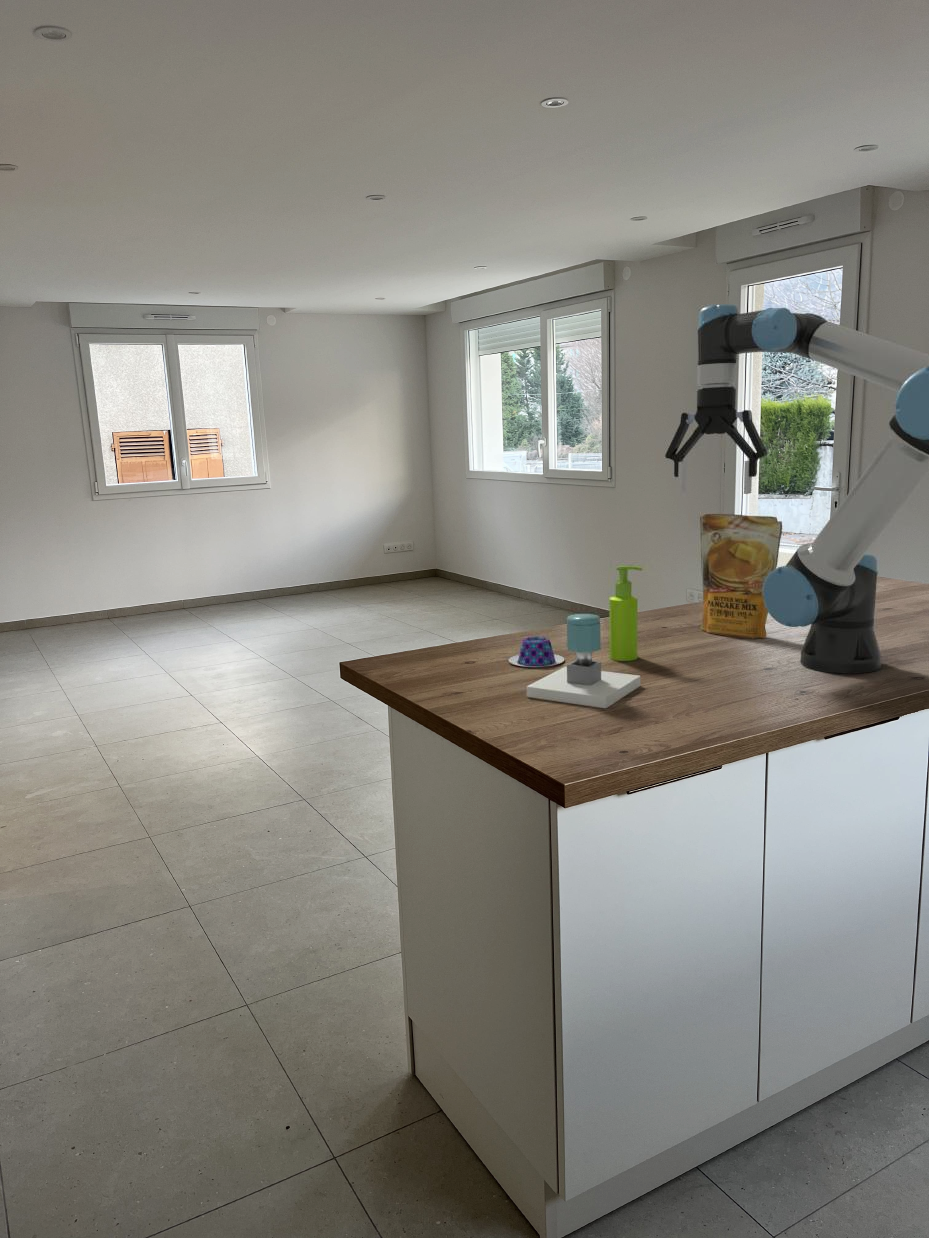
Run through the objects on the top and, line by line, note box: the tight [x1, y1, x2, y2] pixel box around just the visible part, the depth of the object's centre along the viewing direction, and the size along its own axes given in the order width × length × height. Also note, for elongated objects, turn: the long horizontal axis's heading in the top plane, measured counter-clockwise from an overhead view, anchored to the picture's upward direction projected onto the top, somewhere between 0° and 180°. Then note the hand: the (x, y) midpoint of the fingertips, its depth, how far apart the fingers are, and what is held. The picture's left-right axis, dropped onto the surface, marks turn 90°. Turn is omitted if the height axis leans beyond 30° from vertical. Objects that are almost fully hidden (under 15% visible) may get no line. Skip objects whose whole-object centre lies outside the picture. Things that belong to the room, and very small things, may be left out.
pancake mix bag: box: [699, 513, 783, 640], centre depth 210 cm, size 7×19×28 cm, turn 48°
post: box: [575, 652, 593, 667], centre depth 169 cm, size 3×3×10 cm
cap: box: [566, 613, 602, 653], centre depth 168 cm, size 6×6×6 cm
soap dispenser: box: [608, 564, 643, 662], centre depth 192 cm, size 6×7×20 cm
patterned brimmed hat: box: [508, 636, 565, 668], centre depth 193 cm, size 12×12×5 cm
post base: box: [526, 659, 641, 709], centre depth 170 cm, size 16×16×6 cm
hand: (714, 493), depth 185 cm, fingers open, 13 cm apart
